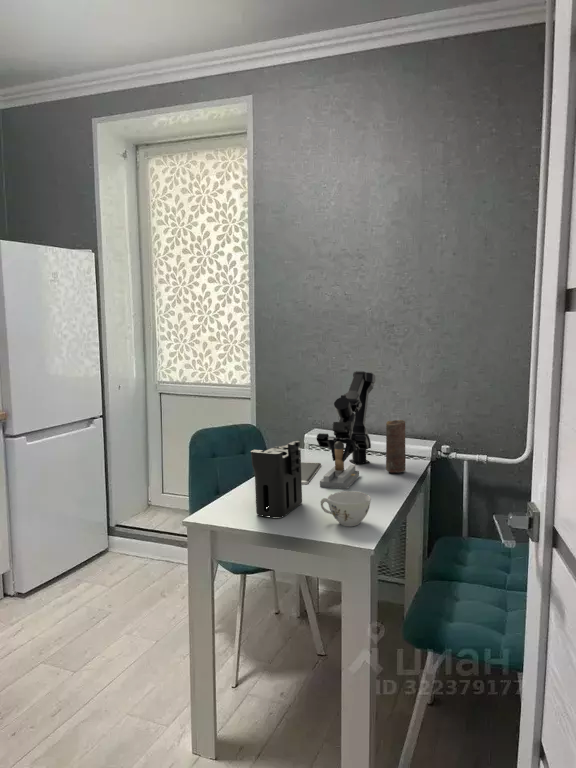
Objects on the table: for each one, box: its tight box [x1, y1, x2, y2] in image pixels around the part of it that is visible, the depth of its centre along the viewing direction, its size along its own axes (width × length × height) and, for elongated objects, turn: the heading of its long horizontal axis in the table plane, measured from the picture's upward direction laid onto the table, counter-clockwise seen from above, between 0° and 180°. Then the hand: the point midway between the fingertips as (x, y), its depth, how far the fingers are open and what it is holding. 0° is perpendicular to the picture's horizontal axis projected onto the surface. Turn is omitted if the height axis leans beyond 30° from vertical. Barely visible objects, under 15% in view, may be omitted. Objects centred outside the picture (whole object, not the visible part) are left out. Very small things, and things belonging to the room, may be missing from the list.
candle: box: [385, 419, 406, 474], centre depth 221 cm, size 8×7×20 cm
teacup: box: [320, 490, 372, 527], centre depth 170 cm, size 15×12×8 cm
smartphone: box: [301, 461, 322, 485], centre depth 225 cm, size 13×27×2 cm, turn 166°
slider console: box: [319, 464, 360, 490], centre depth 212 cm, size 17×10×4 cm, turn 159°
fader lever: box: [334, 441, 345, 477], centre depth 211 cm, size 4×4×13 cm
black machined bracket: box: [250, 440, 303, 518], centre depth 183 cm, size 12×21×22 cm, turn 154°
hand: (338, 460), depth 210 cm, fingers closed on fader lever, 3 cm apart
